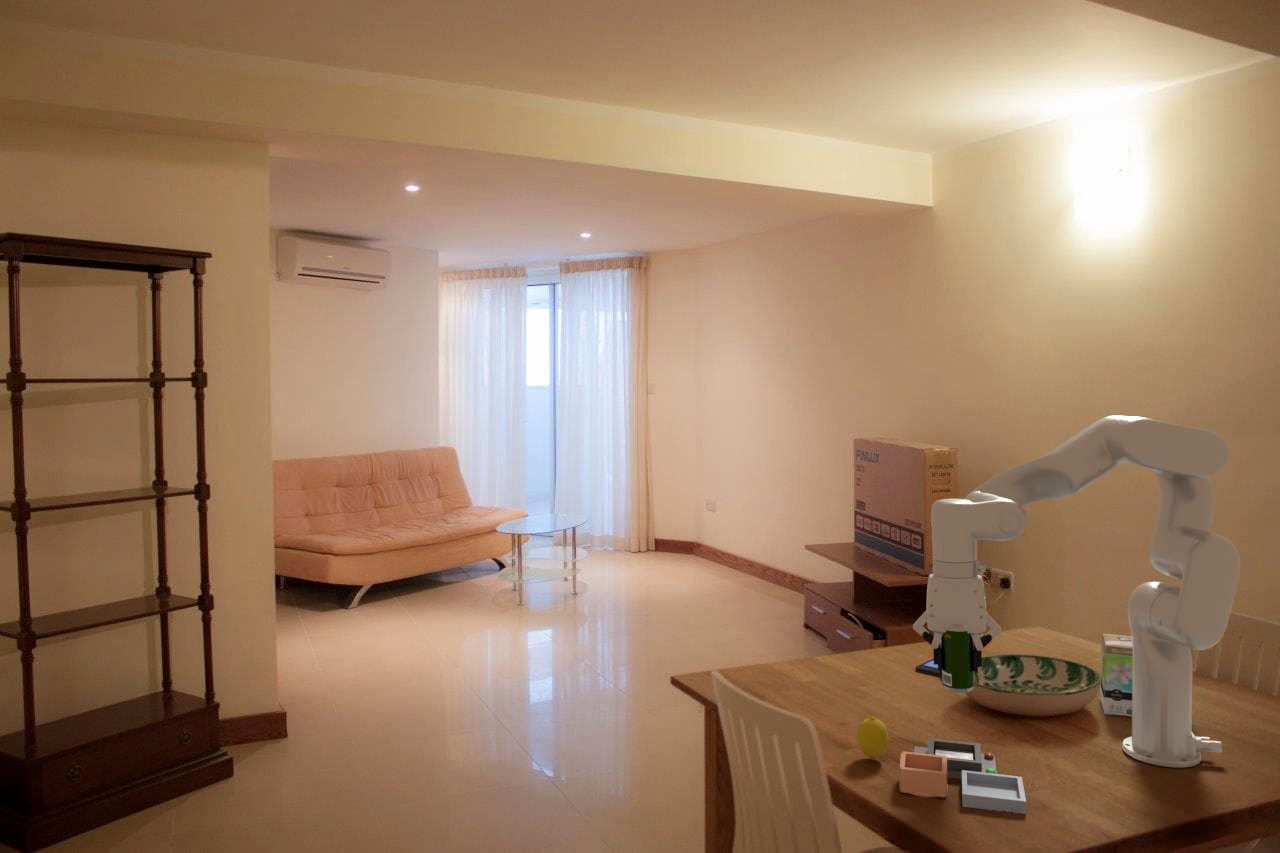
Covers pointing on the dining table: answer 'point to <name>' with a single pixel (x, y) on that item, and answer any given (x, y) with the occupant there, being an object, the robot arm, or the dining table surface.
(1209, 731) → the dining table surface
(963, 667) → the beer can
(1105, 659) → the tea box
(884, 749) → the lemon
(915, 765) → the peach open box
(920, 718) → the dining table surface
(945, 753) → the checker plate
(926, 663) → the handheld game console
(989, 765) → the button control box
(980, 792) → the light blue-grey square tray
